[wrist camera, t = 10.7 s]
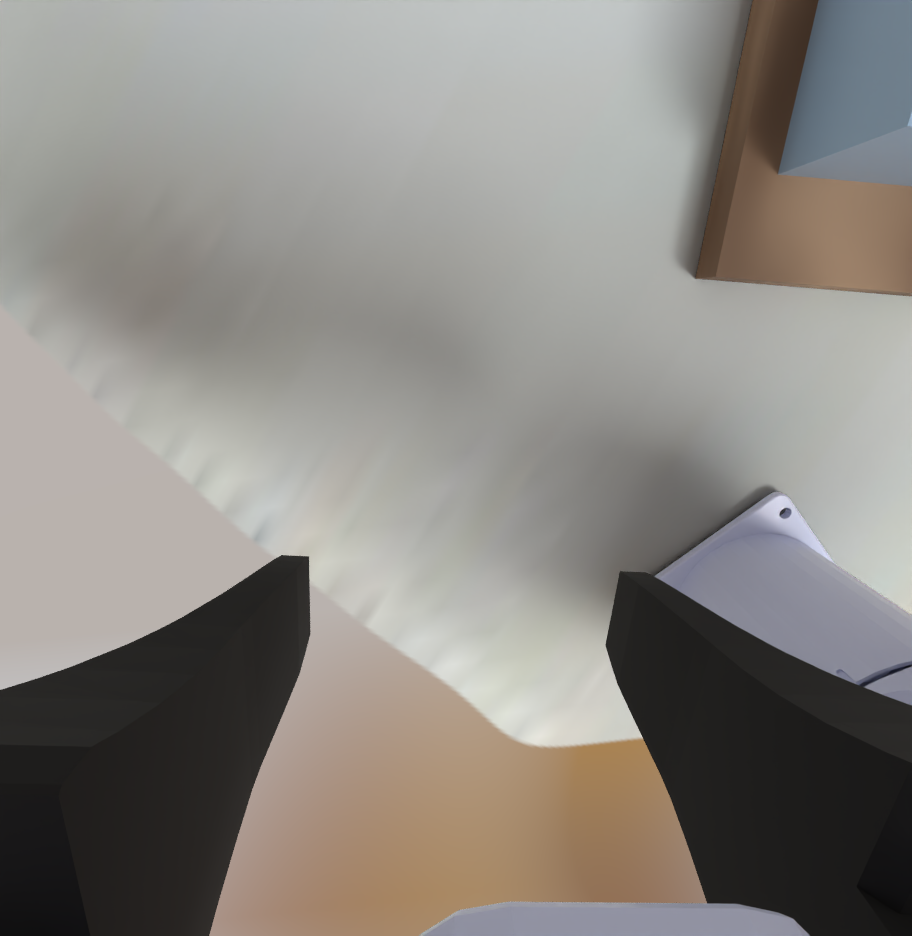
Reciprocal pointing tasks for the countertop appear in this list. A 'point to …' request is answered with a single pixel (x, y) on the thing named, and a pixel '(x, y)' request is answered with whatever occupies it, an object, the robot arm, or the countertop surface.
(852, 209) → the stub board
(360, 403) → the countertop surface
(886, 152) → the collar
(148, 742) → the robot arm
